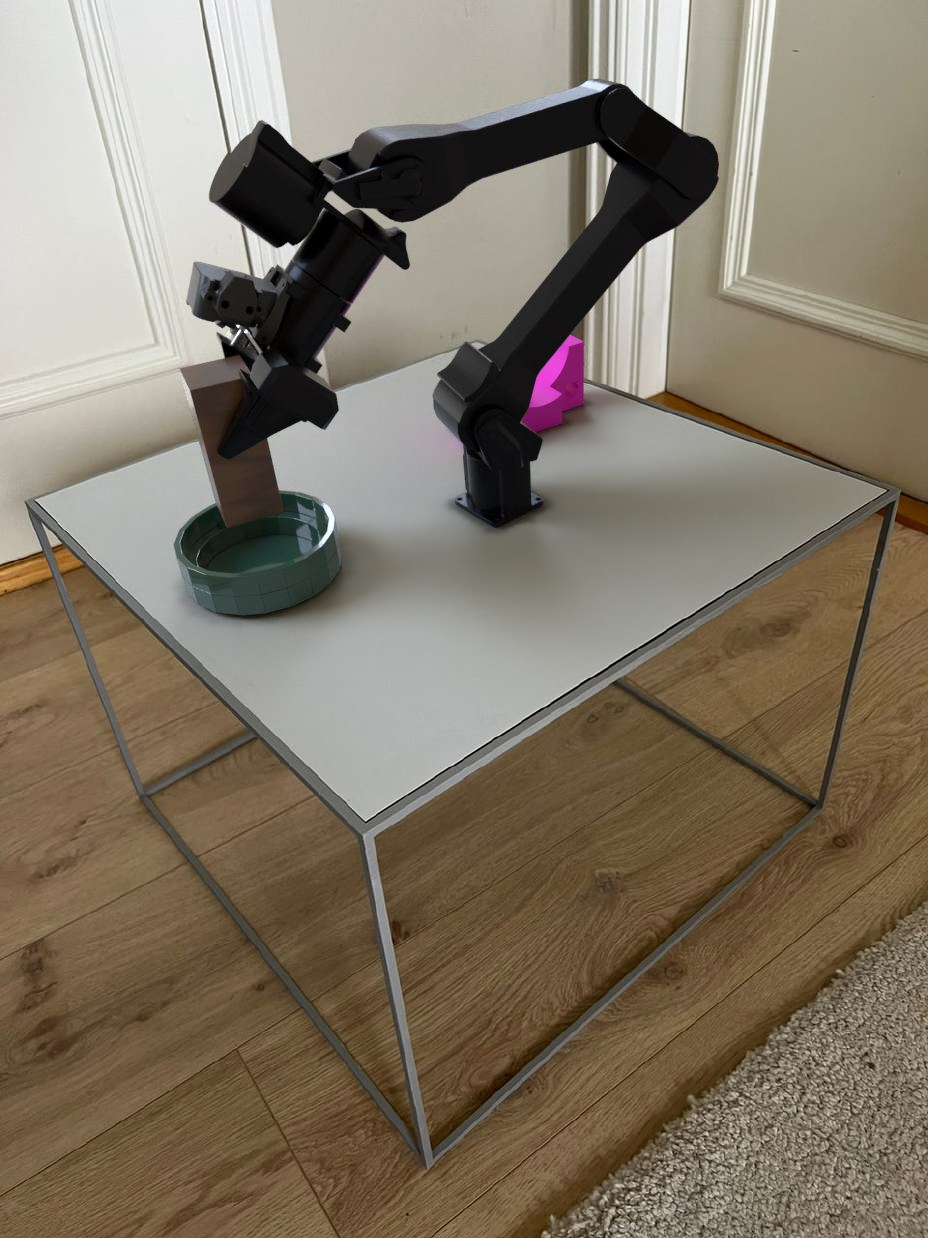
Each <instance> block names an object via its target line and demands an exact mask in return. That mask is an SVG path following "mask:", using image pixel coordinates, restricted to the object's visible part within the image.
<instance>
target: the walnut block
mask: <svg viewBox="0 0 928 1238" xmlns="http://www.w3.org/2000/svg"><path fill="white" fill-rule="evenodd" d="M239 368H240V369H241V370H243V371H245V372H246V373H248V374H251V372H250V370H249V369H248V367H247V366H246V364H245V363H244V361H243V359H242V358H241V356H240V355H237V356H232V357H228V358H219V359H215V360H210V361H207V362H206V361H205V362H202V363H197V364H192V365H187V366H183V367H179V368H178V369H179V374H180V378H181V381H182V385H183V389H184V392H185V396H186V399H187V403H188V407H189V411H190V414H191V418H192V422H193V425H194V428H195V429H194V430H195V432H196V436H197V440H198V444H199V448H200V452H201V454H202V455H201V456H202V459H203V462H204V465H205V469H206V470H205V471H206V473H207V476H208V481H209V483H210V488H211V491H212V494H213V498H214V503H216V504H217V507H218V509H219V511H220V513H221V516H222V518H223V520H224V523H225V525H226V527H227V528H229V527H233V526H236V525H240V524H244V523H247V522H251V521H254V520H258V519H262V518H265V517H269V516H273V515H276V514H280V513H283V512H284V511H283V506H282V502H281V497H280V493H279V490H280V489H279V484H278V480H277V476H276V472H275V467H274V462H273V457H272V452H271V449H270V443H269V440H268V438H266V439H264V440H263V441H261V442H259V443H257V444H256V445H254V446H252V447H250V448H249V449H247V450H245V451H243V452H242V453H240V454H238V455H236V456H235V457H233V458H231V459H226V458H224V457H222V456H220V455H219V454H218V449H219V446H220V444H221V442H222V439H223V437H224V435H225V432H226V430H227V428H228V426H229V424H230V422H231V420H232V418H233V416H234V414H235V411H236V409H237V407H238V405H239V403H240V401H241V399H242V397H243V390H242V385H241V381H240V376H239Z"/></svg>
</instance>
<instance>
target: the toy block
mask: <svg viewBox="0 0 928 1238" xmlns="http://www.w3.org/2000/svg"><path fill="white" fill-rule="evenodd" d="M584 388H585V341H583V340H582V339H579V338H577V337H576V336H573V334H571V335H570V336H569V337H568V338H567V339H566V341H565V342H564V343H563V344H562V346H561V347H560V348H559V349H558V350H557V352H556V353H555V354H554V355H553V357H552V358H551V359H550V360H549V361H548V363H547V364H546V365H545V366H544V368H543V369H542V370H541V371H540V373H539V374H538V376H537V379H536V382H535V386H534V390H533V394H532V398H531V402H530V406H529V409H528V411H527V412H526V414H525V416H524V417H523V419H522V421H523V422H524V423H525V424H526V425H527V426H529V427H530V428H531V429H532V430H533V431H534V432H535V433H537V432H540V431H543V430H545V429H549V428H552V427H555V426H558V425H561V424H563V412H564V411H568V410H571V409H574V408H577V407H580V406H582V405H584V403H585V401H584V400H585V399H584V398H585V392H584V391H585V389H584Z"/></svg>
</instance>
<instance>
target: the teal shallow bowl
mask: <svg viewBox="0 0 928 1238" xmlns="http://www.w3.org/2000/svg"><path fill="white" fill-rule="evenodd" d="M279 493H280V497H281V502H282V506H283V511H284V512H283V513H280V514H276V515H273V516H269V517H265V518H262V519H258V520H254V521H251V522H247V523H244V524H240V525H236V526H233V527H229V528H227V527H226V525H225V523H224V520H223V518H222V516H221V513H220V511H219V509H218V507H217V504H216V502H214V503H212V504H210V505H208V506H206V507H205V508H203V509H202V510H199V511H198V512H196V513H195V514H194V515H192V516H190V517H189V519H188V520H186V522H185V523H184V524H183V525H182V526H181V527H180V528H179V530H178V531H177V534H176V536H175V539H174V542H173V550H174V553H175V559H176V561H177V564H178V568H179V570H180V574H181V577H182V580H183V584H184V587H185V590H186V593H187V595H188V596H189V597H190V598H191V599H192V600H193V601H194V602H195V603H196V604H197V605H198V606H199V607H201V608H202V607H203V608H205V609H207V610H210V611H212V612H214V613H220V614H228V615H236V616H250V615H265V614H268V613H273V612H276V611H280V610H284V609H287V608H291V607H294V606H295V605H298V604H301V603H302V602H304V601H306V600H308V599H311V598H312V597H315V596H316V595H317V594H318V593H320V592H321V591H322V590H324V589H325V588H326V587H328V585H330V584H331V583H332V582H333V580H334V579H335V577H336V575H337V574H338V572H339V571H340V569H341V564H342V555H343V554H342V548H341V543H340V537H339V536H340V535H339V532H338V531H339V530H338V525H337V519H336V516H335V514H334V512H333V510H332V509H331V506H330V505H328V504H326V503H325V502H324V501H322V500H321V499H320V498H318V497H316V496H313V495H310V494H307V493H303V492H301V491H295V490H285V489H284V490H282V489H279Z"/></svg>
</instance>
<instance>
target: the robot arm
mask: <svg viewBox="0 0 928 1238" xmlns="http://www.w3.org/2000/svg"><path fill="white" fill-rule="evenodd" d="M353 141H354V142H353V143H352V146H351V148H348V149H345V150H342V151H339V152H337V153H333V154H331V155H328V156H325V157H322V158H319V159H316V160H313V161H311V160H310V159H308V158H307V157H305V156H304V155H303V154H302V153H301V152H299V151H298V150H297V149H296V148H295V147H294V146H292V145H291V144H290V143H289V142H288V141H287V139H286V138H285V137H284V135H282V133H280V131H278V130H277V129H276V128H275V127H273V126H272V125H271V124H270V123H268V122H266V121H265V120H263V119H260V120H258V121H257V122H256V125H255V126H254V127H253V129H252V131H251V132H250V133H248V134H247V135H245V136H244V137H243V138H242V139H241V140H239V142H238V143H237V145H236V146H235V147H234V148H233V149H232V151H231V152H230V151H227V153H226V154H225V156H224V158H223V159H222V161H221V162H220V164H219V166H218V168H217V169H216V172H215V174H214V176H213V179H212V181H211V183H210V188H209V191H208V201H209V202H210V203H211V204H212V205H214V206H215V207H217V208H218V209H219V210H221V211H222V212H224V213H225V214H226V215H228V216H229V217H230V218H232V219H233V220H235V221H236V222H237V223H239V224H241V225H242V226H243V227H244V228H246V229H247V230H249V231H250V232H251V233H253V234H254V235H255V236H257V238H258V237H259V238H260V239H261V240H263V241H264V242H265V243H267V244H268V245H270V246H271V247H272V248H274V249H280V248H282V247H283V246H285V245H287V244H288V245H290V246H292V247H295V246H296V245H298V244H299V246H298V248H297V249H296V250H295V252H294V254H293V255H292V257H291V259H290V260H289V261H288V263H287V264H286V266H285V267H282V266H280V265H279V264H276V265H275V267H274V266H271V267H270V268H269V270H268V271H267V273H266V274H265V276H264V277H263V278H261V277H258V276H255V275H250V274H248V273H246V272H242V271H238V270H234V269H230V268H226V267H222V266H218V265H215V264H210V263H206V262H202V261H193V263H192V268H191V274H190V279H189V284H188V288H187V295H186V298H185V299H186V300H185V304H186V305H187V306H189V307H190V308H191V313H192V315H193V316H194V317H196V318H197V319H200V320H202V321H206V322H209V323H215V326H217V327H219V328H220V329H224V328H225V327H228V328H229V330H228V331H227V333H226V334H225V335H224V334H223V333H221V332H219V331H216V333H215V338H216V340H217V343H218V347H219V350H220V354H221V359H223V358H228V357H232V356H237V355H240V356H241V358H242V359H243V361H244V363H245V364H246V366H247V367H248V369H249V370H250V372H251V374H248V373H246V372H245V371H243V370H241V369H240V368H239V376H240V381H241V385H242V390H243V397H242V399H241V401H240V403H239V405H238V407H237V409H236V411H235V414H234V416H233V418H232V420H231V422H230V424H229V426H228V428H227V430H226V432H225V435H224V437H223V439H222V442H221V444H220V446H219V449H218V454H219V455H220V456H222V457H224V458H226V459H231V458H233V457H235V456H236V455H238V454H240V453H242V452H243V451H245V450H247V449H249V448H250V447H252V446H254V445H256V444H257V443H259V442H261V441H263V440H264V439H266V438H267V439H268V438H270V437H272V436H273V435H276V434H277V433H280V432H281V431H284V430H285V429H288V428H290V427H291V426H294V425H296V424H298V423H300V422H303V423H307V422H309V423H311V424H312V425H313V426H315V427H317V428H319V429H321V430H324V431H326V430H327V428H328V427H329V426H330V424H331V423H332V421H333V419H335V417H336V415H337V414H338V412H339V411H340V408H339V407H340V406H339V402H338V397H337V393H336V392H335V391H334V389H333V388H332V387H331V386H330V384H329V383H328V382H327V380H325V378H323V377H322V376H320V375H319V374H318V373H319V372H320V370H321V368H322V367H323V364H322V362H321V361H320V360H319V359H318V358H317V357H318V356H319V355H320V353H321V352H322V350H323V349H324V347H325V346H326V344H327V342H329V339H330V338H331V337H332V335H333V333H335V330H336V329H338V330H339V331H341V332H342V333H344V334H345V333H346V331H347V330H348V329H349V327H350V325H351V324H352V321H351V320H350V319H349V318H348V316H346V314H347V313H348V311H350V309H351V307H352V305H353V304H354V303H355V301H356V299H357V298H358V296H359V295H360V293H361V292H362V291H363V289H364V288H365V286H366V285H367V283H368V282H369V280H370V278H371V277H372V275H374V273H375V271H376V269H377V268H378V266H379V265H380V264H381V262H382V261H383V259H384V257H386V258H387V259H388V260H390V261H391V262H393V263H394V264H395V265H396V266H398V267H399V268H400V269H401V270H403V271H407V270H409V269H410V267H411V261H410V257H409V254H408V249H407V237H408V236H407V233H406V232H405V231H404V230H402V229H401V228H399V227H398V226H392V227H389V228H384V227H383V226H382V225H380V224H379V222H377V221H375V220H374V218H372V217H371V216H370V215H369V214H367V213H366V212H365V211H363V209H369V210H371V209H373V210H375V211H376V212H378V213H379V214H381V215H382V216H384V217H386V218H387V219H389V220H390V221H393V222H396V223H400V224H401V223H402V224H403V223H410V222H411V223H412V222H415V221H418V220H419V219H421V218H423V217H425V216H427V215H428V214H429V215H430V214H431V213H432V212H435V211H436V210H438V209H440V208H442V207H443V206H446V205H448V204H449V203H451V202H452V201H453V200H454V199H456V198H457V197H458V196H460V194H461V193H462V192H464V190H465V189H467V188H468V187H469V186H471V185H473V184H475V183H477V182H479V181H480V180H482V179H485V178H488V177H492V176H496V175H498V174H502V173H504V172H508V171H511V170H515V169H517V168H521V167H524V166H527V165H530V164H533V163H536V162H539V161H540V162H541V161H543V160H546V159H550V158H553V157H555V156H558V155H562V154H565V153H568V152H571V151H574V150H578V149H581V148H584V147H587V146H591V145H593V144H596V145H597V146H598V147H599V148H600V149H601V151H602V152H603V153H604V154H605V155H606V156H607V157H608V158H609V159H611V160H612V161H613V162H614V163H615V165H614V167H613V168H612V170H611V172H610V174H609V177H608V181H607V186H606V190H605V193H604V196H603V197H604V198H603V201H602V205H601V207H600V209H599V211H598V212H597V213H596V214H595V216H594V217H593V218H592V220H591V221H590V222H589V223H588V224H587V226H586V227H585V228H584V229H583V230H582V232H581V233H580V234H579V236H578V237H577V238H576V240H574V242H573V243H572V244H571V245H570V247H569V248H568V250H566V252H565V253H564V254H563V256H562V257H561V259H559V261H558V262H557V263H556V264H555V266H554V267H553V268H552V270H551V271H550V272H549V273H548V274H547V276H546V277H545V278H544V279H543V281H542V282H541V283H540V284H539V285H538V287H537V288H536V289H535V291H533V293H532V295H531V296H530V297H529V298H528V300H527V301H526V302H525V303H524V305H523V306H522V307H521V308H520V309H519V311H518V312H517V313H516V314H515V316H514V317H513V319H511V321H510V323H508V325H507V326H506V327H505V328H504V330H503V331H502V332H501V333H500V334H499V336H497V338H496V339H494V340H493V341H491V342H489V343H487V344H486V345H484V346H482V347H480V348H477V347H475V346H474V345H473V344H472V343H470V342H469V341H464V342H463V343H462V345H460V346H459V348H458V349H457V351H456V353H455V355H454V356H453V358H452V360H451V361H450V362H449V363H448V364H447V365H446V366H445V367H444V368H443V369H441V370H439V371H438V372H437V373H436V376H437V377H438V378H439V379H440V380H439V381H438V382H437V384H436V386H435V388H434V389H433V392H432V402H433V403H432V404H433V405H432V406H433V410H434V414H435V416H436V418H437V419H438V421H440V422H441V423H442V424H443V425H444V427H446V428H447V430H449V431H450V433H451V434H453V436H454V437H455V438H456V439H457V440H458V441H459V442H460V443H461V444H462V448H463V454H462V462H463V475H464V488H465V489H464V490H465V491H466V492H465V493H463V494H461V495H458V496H456V497H455V498H454V504H455V505H456V506H458V507H459V508H461V509H463V510H464V511H466V512H468V513H470V514H471V515H473V516H474V517H476V518H477V519H479V520H481V521H482V522H484V523H486V524H487V525H489V526H491V527H495V528H496V527H499V526H501V525H503V524H505V523H507V522H510V521H513V520H514V519H516V518H518V517H520V516H522V515H524V514H526V513H529V512H530V511H532V510H534V509H536V508H538V507H541V506H542V505H544V501H545V500H544V499H545V498H543V497H542V496H541V495H539V494H537V493H535V492H534V491H532V474H531V473H532V472H531V470H532V469H531V463H533V462H535V461H537V460H538V458H539V455H540V452H541V449H542V445H543V442H544V439H543V438H542V436H540V435H539V434H538V433H537V432H534V431H533V430H532V429H531V428H530V427H529V426H527V425H526V424H525V423H524V422H523V421H522V419H523V417H524V416H525V414H526V412H527V411H528V409H529V406H530V402H531V398H532V394H533V390H534V386H535V382H536V379H537V376H538V374H539V373H540V371H541V370H542V369H543V368H544V366H545V365H546V364H547V363H548V361H549V360H550V359H551V358H552V357H553V355H554V354H555V353H556V352H557V350H558V349H559V348H560V347H561V346H562V344H563V343H564V342H565V341H566V339H567V338H568V337H569V336H570V335H572V333H573V332H574V331H575V330H576V329H577V327H579V325H580V324H581V322H582V321H583V320H584V319H585V318H586V316H587V315H588V314H589V313H590V311H591V310H592V309H593V308H594V307H595V305H597V303H598V302H599V300H601V298H602V297H603V296H604V294H605V293H607V290H608V289H609V288H610V287H611V286H612V285H613V283H614V282H615V281H616V280H617V278H618V277H619V276H620V275H621V274H622V272H623V271H624V270H625V269H626V268H627V266H628V265H629V264H630V263H631V261H632V260H633V259H634V258H635V256H636V255H637V254H638V253H639V251H640V250H641V249H642V248H644V246H645V245H647V244H648V243H649V242H651V241H653V240H655V239H657V238H659V237H660V236H663V235H665V234H667V233H668V232H671V231H672V230H674V229H676V228H678V227H680V226H681V225H682V224H683V223H684V222H685V221H686V220H687V219H689V218H690V217H691V216H692V215H693V214H694V213H695V212H696V211H697V210H698V209H699V208H700V207H702V206H703V205H704V204H705V202H707V201H708V200H709V199H710V197H711V196H712V195H713V193H714V191H715V190H716V188H717V185H718V184H719V180H720V177H719V169H720V160H719V153H718V151H717V149H716V147H715V144H714V143H712V142H711V141H710V140H709V139H708V138H706V137H703V136H701V135H698V134H694V133H690V132H688V131H687V132H686V131H684V129H683V130H682V129H681V128H680V126H678V125H676V123H675V124H674V123H673V122H672V121H671V120H669V119H668V118H666V117H665V116H663V115H662V114H660V113H659V112H658V111H656V110H655V109H654V108H651V106H649V105H647V104H646V103H645V102H644V101H643V100H642V99H641V98H639V96H638V95H636V94H635V93H634V92H633V90H632V89H631V88H630V87H629V86H628V85H625V84H623V83H620V82H617V81H616V82H614V81H612V80H607V79H603V78H591V79H588V80H586V81H584V82H583V83H582V84H580V85H578V86H576V87H575V86H574V87H572V88H569V89H565V90H562V91H559V92H555V93H552V94H548V95H545V96H542V97H539V98H535V99H532V100H528V101H525V102H522V103H519V104H515V105H512V106H508V107H506V108H502V109H498V110H495V111H492V112H489V113H485V114H482V115H479V116H475V117H472V118H469V119H466V120H462V121H459V122H453V123H443V124H442V123H440V124H439V123H438V124H437V123H434V124H433V123H410V124H409V123H407V124H399V125H398V124H397V125H386V126H377V127H371V128H369V129H367V130H365V131H363V132H362V133H360V134H359V135H358V136H357V137H356V138H355V139H354V140H353ZM330 192H331V194H333V195H335V196H336V197H337V198H338V199H340V200H342V201H343V202H345V203H346V204H347V205H349V206H350V207H351V208H353V209H351V210H349V211H347V212H346V213H342V212H341V211H340V210H339V209H338V208H336V207H335V206H334V205H332V204H331V203H330V202H328V201H327V200H326V199H325V198H326V197H327V196H328V193H330Z"/></svg>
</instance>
